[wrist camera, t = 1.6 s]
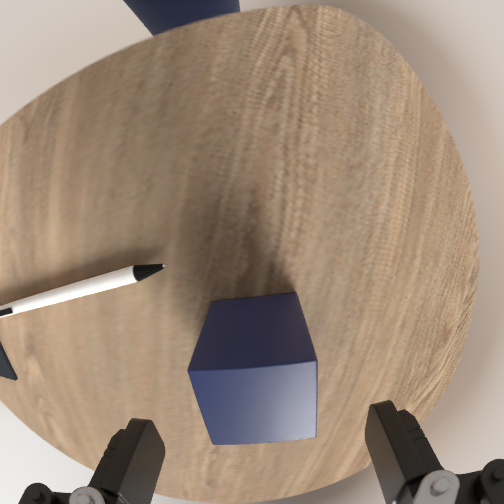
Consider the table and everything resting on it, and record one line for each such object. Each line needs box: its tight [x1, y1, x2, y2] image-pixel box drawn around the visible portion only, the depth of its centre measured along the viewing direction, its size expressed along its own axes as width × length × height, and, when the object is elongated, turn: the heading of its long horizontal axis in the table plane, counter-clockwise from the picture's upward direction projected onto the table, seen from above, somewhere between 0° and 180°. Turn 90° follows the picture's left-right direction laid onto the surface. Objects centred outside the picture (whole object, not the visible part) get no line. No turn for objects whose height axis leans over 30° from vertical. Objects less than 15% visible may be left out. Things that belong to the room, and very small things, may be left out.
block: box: [187, 292, 318, 445], centre depth 13 cm, size 4×4×6 cm
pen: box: [0, 264, 167, 317], centre depth 15 cm, size 1×19×1 cm, turn 106°
